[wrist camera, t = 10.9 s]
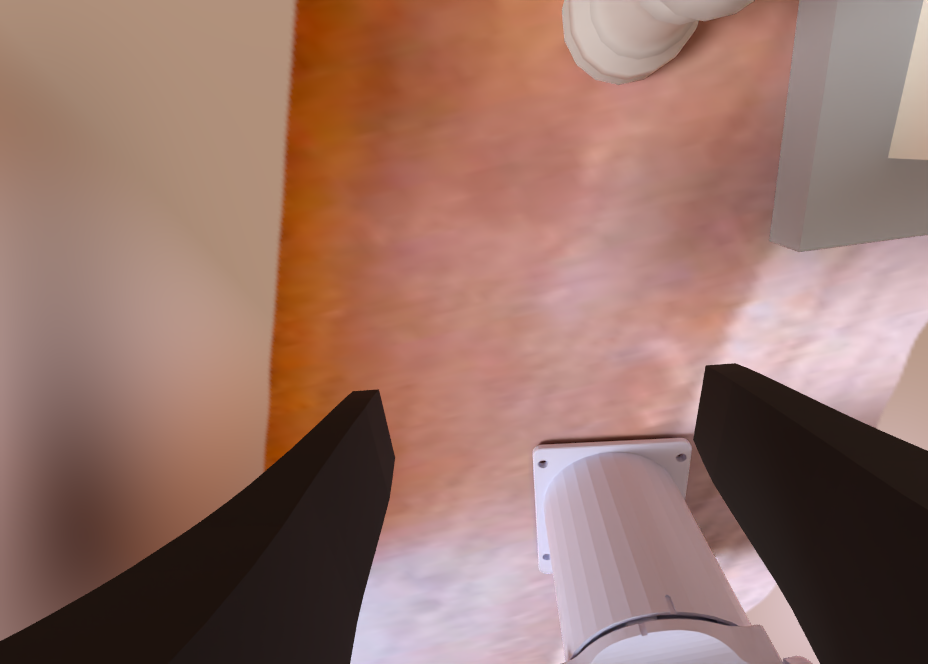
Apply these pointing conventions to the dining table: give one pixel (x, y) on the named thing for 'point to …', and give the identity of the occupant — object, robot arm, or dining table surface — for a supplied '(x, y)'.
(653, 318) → the dining table surface
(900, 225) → the slate block
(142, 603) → the robot arm
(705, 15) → the rook chess piece
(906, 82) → the cream cube
